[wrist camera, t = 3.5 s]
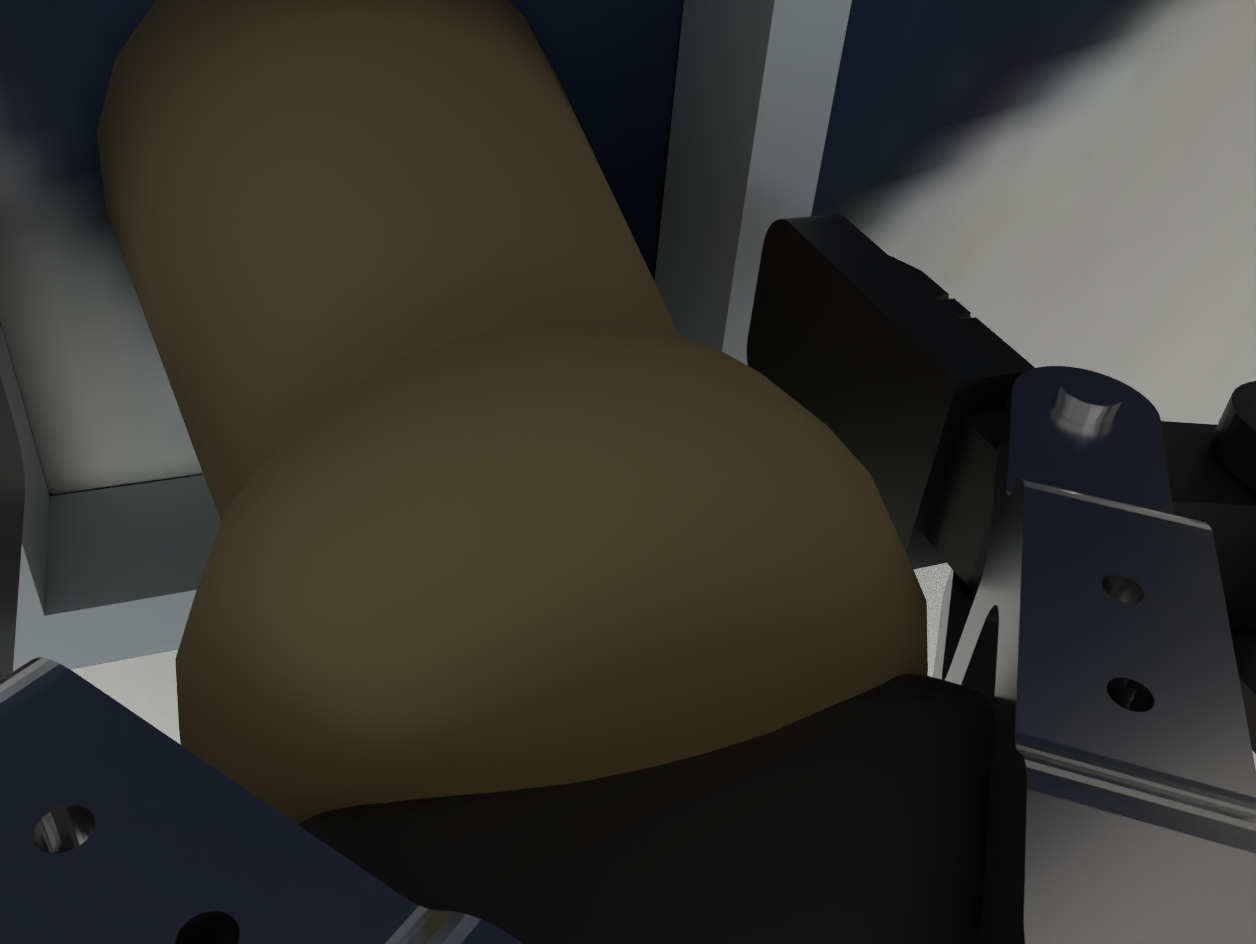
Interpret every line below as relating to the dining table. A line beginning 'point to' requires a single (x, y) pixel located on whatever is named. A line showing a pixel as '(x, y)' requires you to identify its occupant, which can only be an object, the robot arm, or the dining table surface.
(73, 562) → the shaker holder
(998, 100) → the dining table surface
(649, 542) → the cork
